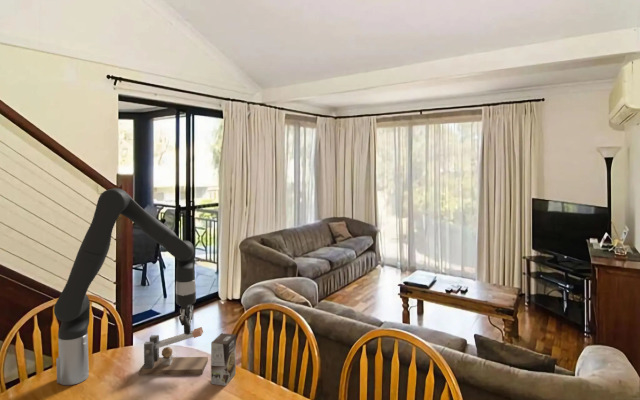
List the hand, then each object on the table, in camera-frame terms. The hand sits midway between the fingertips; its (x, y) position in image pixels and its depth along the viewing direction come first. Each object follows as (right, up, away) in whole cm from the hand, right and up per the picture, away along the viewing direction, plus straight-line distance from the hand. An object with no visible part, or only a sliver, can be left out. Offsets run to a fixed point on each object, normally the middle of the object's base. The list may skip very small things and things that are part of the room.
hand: (187, 333), depth 152 cm
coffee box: (+16, -16, -6) cm, 23 cm away
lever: (-4, -3, 0) cm, 6 cm away
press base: (-5, -14, +1) cm, 15 cm away
